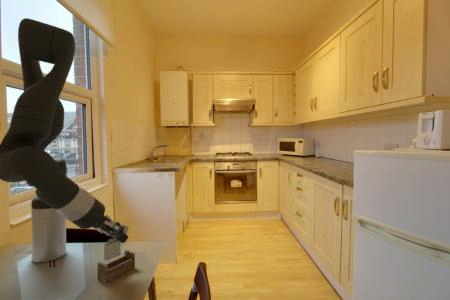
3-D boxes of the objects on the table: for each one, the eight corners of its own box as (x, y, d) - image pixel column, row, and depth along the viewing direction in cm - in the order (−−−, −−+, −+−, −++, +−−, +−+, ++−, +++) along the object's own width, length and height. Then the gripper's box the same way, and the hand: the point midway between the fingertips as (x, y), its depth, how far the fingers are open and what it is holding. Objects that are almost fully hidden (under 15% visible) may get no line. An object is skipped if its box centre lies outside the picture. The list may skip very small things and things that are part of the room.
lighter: (107, 260, 63) (107, 231, 63) (103, 259, 64) (103, 230, 64) (129, 250, 69) (129, 224, 69) (126, 249, 70) (125, 223, 70)
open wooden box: (97, 278, 64) (97, 262, 64) (126, 263, 72) (126, 249, 72) (106, 282, 62) (106, 266, 62) (134, 267, 70) (134, 253, 70)
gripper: (106, 197, 57) (146, 231, 67) (77, 192, 64) (117, 224, 74) (84, 225, 52) (130, 256, 63) (55, 216, 59) (101, 246, 70)
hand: (123, 238), depth 68 cm, fingers closed on lighter, 2 cm apart
